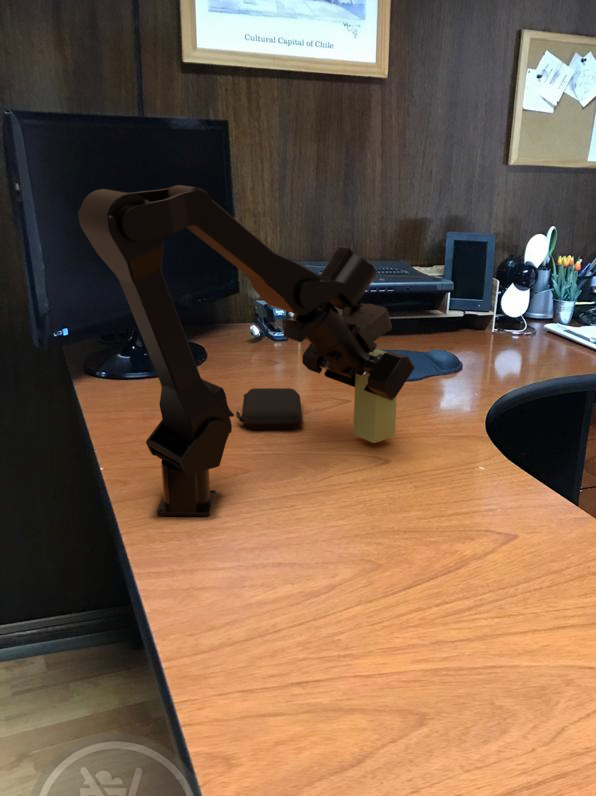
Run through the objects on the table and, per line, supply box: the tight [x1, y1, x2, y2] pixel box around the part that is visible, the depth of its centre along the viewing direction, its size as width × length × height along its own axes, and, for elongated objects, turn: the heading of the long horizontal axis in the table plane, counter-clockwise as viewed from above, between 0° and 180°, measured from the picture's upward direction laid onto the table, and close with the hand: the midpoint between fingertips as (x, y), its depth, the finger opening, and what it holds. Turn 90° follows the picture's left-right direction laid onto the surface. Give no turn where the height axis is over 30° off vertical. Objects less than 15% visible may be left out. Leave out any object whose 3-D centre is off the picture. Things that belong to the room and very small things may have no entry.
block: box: [352, 349, 398, 444], centre depth 118 cm, size 5×5×13 cm
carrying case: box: [235, 387, 303, 430], centre depth 129 cm, size 11×3×15 cm
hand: (382, 393), depth 119 cm, fingers closed on block, 4 cm apart
